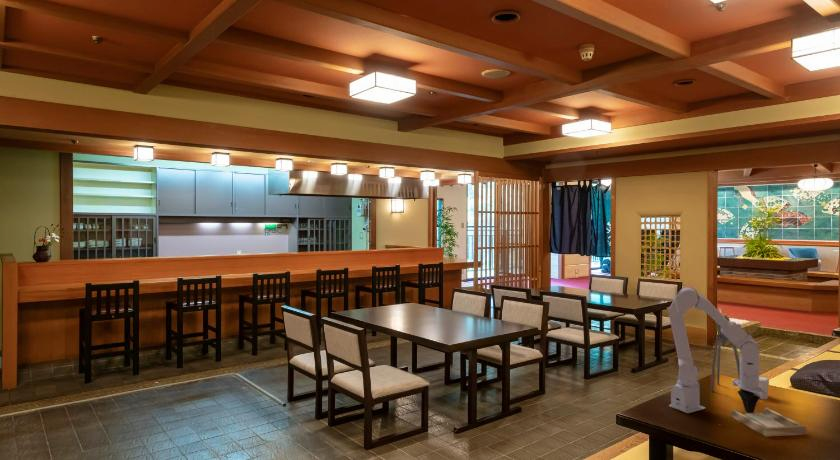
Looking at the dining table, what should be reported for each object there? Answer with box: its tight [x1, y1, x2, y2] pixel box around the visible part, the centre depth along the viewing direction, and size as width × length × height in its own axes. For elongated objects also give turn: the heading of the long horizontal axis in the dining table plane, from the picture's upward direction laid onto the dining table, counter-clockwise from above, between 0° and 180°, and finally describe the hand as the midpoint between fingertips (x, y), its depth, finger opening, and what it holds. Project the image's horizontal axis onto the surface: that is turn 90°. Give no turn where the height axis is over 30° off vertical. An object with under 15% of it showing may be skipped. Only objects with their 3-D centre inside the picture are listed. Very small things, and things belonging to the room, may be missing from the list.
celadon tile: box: [744, 412, 774, 422], centre depth 174 cm, size 6×6×2 cm
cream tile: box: [757, 420, 785, 427], centre depth 168 cm, size 6×6×2 cm
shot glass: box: [759, 375, 770, 396], centre depth 197 cm, size 7×7×7 cm
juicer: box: [710, 314, 742, 392], centre depth 206 cm, size 10×11×30 cm
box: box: [730, 407, 807, 438], centre depth 170 cm, size 16×13×2 cm
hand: (749, 412), depth 178 cm, fingers closed
